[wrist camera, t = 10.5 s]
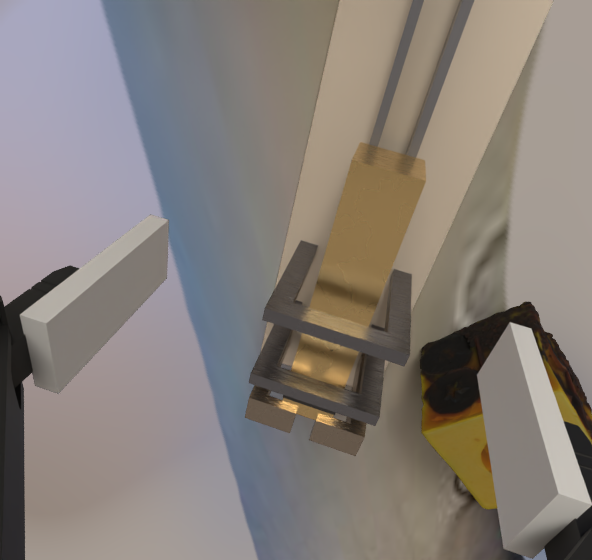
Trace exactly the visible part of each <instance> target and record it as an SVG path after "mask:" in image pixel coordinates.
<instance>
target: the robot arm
mask: <svg viewBox="0 0 592 560" xmlns="http://www.w3.org/2000/svg"><path fill="white" fill-rule="evenodd" d="M168 229H169V220H167V219H164V218H160V217H157V216H154V215H149V216H148V217H146V218H145V219H144V220H143V221H141V222H140V223H139V224H137V225H136V226H135V227H133V228H132V229H131V230H130V231H128V232H127V233H126V234H124V235H123V236H122V237H120V238H119V239H118V240H116V241H115V242H114V243H113V244H111V245H110V246H109V247H107V248H106V249H105V250H104V251H102V252H101V253H100V254H98V255H97V256H96V257H94V258H93V259H92V260H90V261H89V262H88V263H87V264H85V265H84V266H83V267H81V268H80V269H79V268H76V267H73V266H67V267H65V268H62V269H59V270H56V271H54V272H52V273H51V274H49V275H48V276H47V277H45V278H44V279H43V280H41V282H38V283H37V284H35V285H34V286H33V287H32V288H31V290H30V289H29V290H27V291H26V292H24V293H23V294H22V295H20V296H19V297H17V298H16V299H15V300H13V301H12V302H10V303H9V304H8V305H6V306H5V307H4V304H3V301H2V298H1V296H0V560H25V512H24V508H25V507H24V506H25V505H24V388H23V384H22V381H23V380H24V379H25V378H26V377H28V376H29V375H30V374H31V373H32V374H33V379H34V383H35V386H37V387H40V388H43V389H46V390H49V391H51V392H54V393H57V394H59V393H60V392H61V391H62V390H63V389H64V387H65V386H66V385H67V384H68V383H69V382H70V381H71V380H72V379H73V378H74V377H75V376H76V375H77V374H78V373H79V371H80V370H81V369H82V368H83V367H84V366H85V365H86V364H87V363H88V362H89V361H90V360H91V359H92V358H93V356H94V355H95V354H96V353H97V352H98V351H99V350H100V349H101V348H102V347H103V346H104V345H105V344H106V343H107V342H108V340H109V339H110V338H111V337H112V336H113V335H114V334H115V333H116V332H117V331H118V330H119V329H120V328H121V327H122V325H123V324H124V323H125V322H126V321H127V320H128V319H129V318H130V317H131V316H132V315H133V314H134V313H135V312H136V310H138V308H139V307H140V306H141V305H142V304H143V303H144V302H145V301H146V300H147V299H148V298H149V297H150V296H151V295H152V294H153V292H154V291H155V290H156V289H157V288H158V287H159V286H160V285H161V284H162V283H163V282H164V281H165V279H167V261H168V260H167V259H168ZM477 378H478V385H479V391H480V398H481V404H482V411H483V417H484V424H485V430H486V437H487V443H488V450H489V456H490V463H491V469H492V476H493V482H494V489H495V495H496V502H497V508H498V515H499V521H500V528H501V534H502V541H503V547H504V549H506V550H509V551H512V552H515V553H518V554H520V555H523V556H526V557H529V558H532V559H533V558H534V557H535V556H536V555H537V554H538V553H539V552H540V551H541V550H543V549H544V548H545V552H546V557H547V560H592V444H591V442H590V440H589V439H588V438H587V436H586V435H585V434H584V432H583V431H582V430H581V429H580V427H579V426H578V425H575V424H572V423H569V422H565V421H563V419H562V416H561V413H560V410H559V407H558V404H557V401H556V398H555V395H554V393H553V390H552V387H551V384H550V381H549V378H548V375H547V372H546V369H545V366H544V364H543V361H542V358H541V355H540V352H539V349H538V346H537V343H536V340H535V338H534V335H533V332H532V329H531V328H528V327H524V326H521V325H518V324H514V323H511V322H510V323H509V324H508V326H507V328H506V329H505V331H504V332H503V334H502V336H501V337H500V339H499V340H498V342H497V344H496V345H495V347H494V348H493V350H492V352H491V353H490V355H489V357H488V358H487V360H486V361H485V363H484V365H483V366H482V368H481V369H480V371H479V373H478V374H477Z"/></svg>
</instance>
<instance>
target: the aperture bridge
mask: <svg viewBox="0 0 592 560" xmlns="http://www.w3.org/2000/svg"><path fill="white" fill-rule="evenodd" d="M292 333H293V330H292V332H291V335H290V337H289V340H288V342H287V345H286V347H285V349H284V352H283V354H282V357H281V359H280V362H279V364H278V367H281V365H282V363H283V360H284V358H285V355H286V353H287V350H288V348H289V344H290V340H291V337H292ZM364 358H365V353H362V354H361V357H360V359H359V362H358V364H357V367H356V369H355V375H354V380H353V386H352V392H355V393H358V394H359V389H360V383H361V376H362V370H363V364H364ZM270 393H271V390H268V389H265V388H262V387H259V386H256V385H255V386H254V388H253V390H252V392H251V395H250V397H249V401H248V405H247V410H246V414H245V418H248V419H250V420H253V421H256V422H259V423H262V424H265V425H268V426H270V427H273V428H276V429H279V430H282V431H285V432H288V433H290V431H291V428H292V425H293V422H294V419H295V416H296V413H297V409H298V406H297V405H294V404H291V403H289V402H286V401H283V400H280V399H277V398H274V397H271V396H270ZM365 430H366V423H365V422H362V421H359V420H356V419H353V418H350V417H347V419H346V422H344V421H341V420H338V419H335V418H332V417H329V416H326V415H324V414H321V413H318V415H317V417H316V420H315V423H314V426H313V428H312V431H311V435H310V439H309V440H311V441H313V442H316V443H319V444H322V445H325V446H328V447H331V448H334V449H336V450H339V451H342V452H345V453H348V454H351V455H354V456H356V454H357V452H358V450H359V448H360V446H361V444H362V442H363V440H364V437H365Z"/></svg>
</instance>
